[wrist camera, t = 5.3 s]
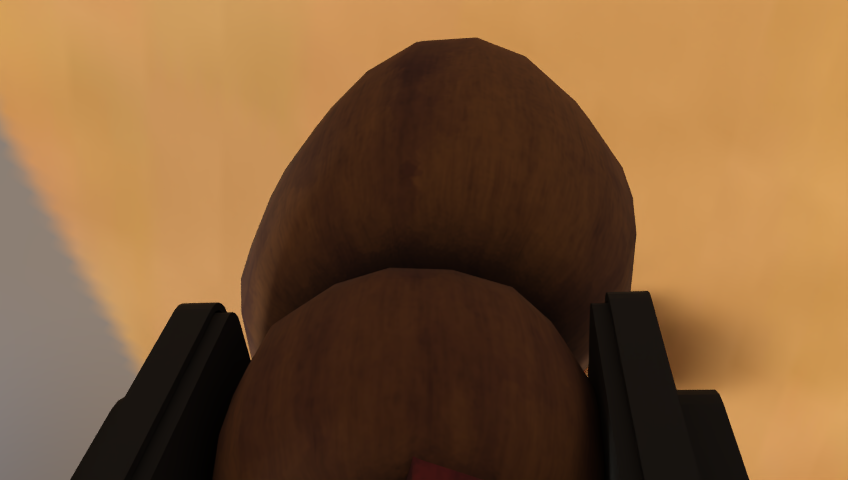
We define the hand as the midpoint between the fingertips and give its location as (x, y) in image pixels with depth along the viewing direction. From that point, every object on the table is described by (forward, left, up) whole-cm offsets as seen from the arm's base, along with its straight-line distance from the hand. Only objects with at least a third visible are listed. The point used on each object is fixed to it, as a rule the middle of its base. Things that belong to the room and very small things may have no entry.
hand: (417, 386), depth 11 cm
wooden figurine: (0, 0, -8) cm, 8 cm away
